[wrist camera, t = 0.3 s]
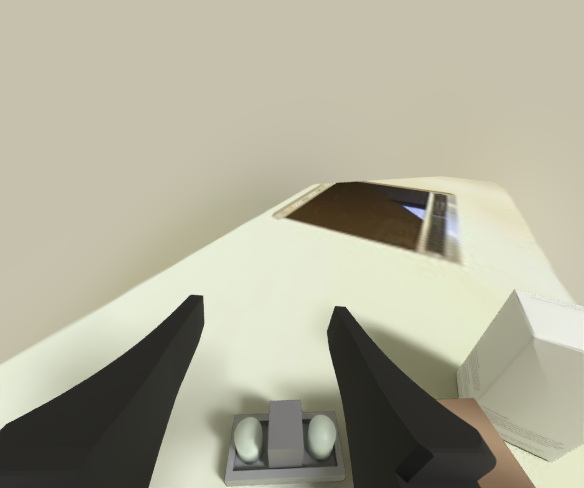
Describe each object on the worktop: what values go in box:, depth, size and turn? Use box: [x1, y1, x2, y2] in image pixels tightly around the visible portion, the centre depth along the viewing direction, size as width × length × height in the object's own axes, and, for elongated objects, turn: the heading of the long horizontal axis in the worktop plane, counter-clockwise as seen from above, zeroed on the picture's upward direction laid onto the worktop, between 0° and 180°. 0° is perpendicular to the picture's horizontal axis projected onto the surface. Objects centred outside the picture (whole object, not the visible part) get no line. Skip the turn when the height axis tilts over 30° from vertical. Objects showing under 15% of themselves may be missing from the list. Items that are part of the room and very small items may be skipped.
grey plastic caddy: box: [225, 400, 346, 487], centre depth 22 cm, size 5×11×6 cm, turn 92°
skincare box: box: [456, 289, 584, 462], centre depth 22 cm, size 8×7×16 cm
